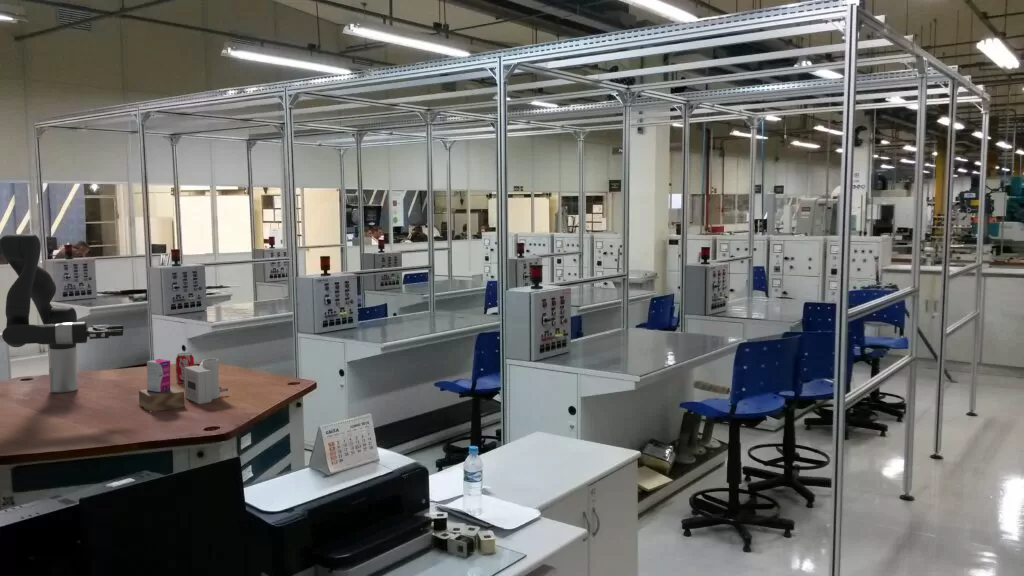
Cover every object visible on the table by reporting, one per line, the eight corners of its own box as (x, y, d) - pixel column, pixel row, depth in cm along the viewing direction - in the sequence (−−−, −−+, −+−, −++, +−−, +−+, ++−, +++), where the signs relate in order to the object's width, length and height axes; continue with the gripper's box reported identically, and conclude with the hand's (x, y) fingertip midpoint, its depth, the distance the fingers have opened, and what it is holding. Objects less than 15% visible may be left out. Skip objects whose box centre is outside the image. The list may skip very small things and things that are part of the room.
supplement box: (158, 393, 274) (158, 362, 273) (146, 391, 276) (145, 361, 275) (171, 390, 279) (170, 360, 278) (159, 388, 281) (158, 358, 280)
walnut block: (150, 412, 270) (149, 396, 269) (139, 405, 279) (138, 390, 278) (184, 407, 278) (184, 391, 278) (172, 400, 287) (172, 385, 286)
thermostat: (184, 398, 290) (184, 359, 288) (220, 392, 300) (219, 355, 299) (199, 404, 282) (198, 365, 280) (234, 397, 292) (234, 360, 291)
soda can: (197, 381, 317) (197, 353, 315) (182, 384, 311) (182, 356, 309) (187, 379, 320) (187, 351, 319) (172, 382, 314) (171, 354, 313)
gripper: (69, 326, 256) (122, 323, 264) (72, 319, 269) (123, 317, 276) (70, 347, 257) (123, 344, 265) (73, 339, 270) (123, 336, 277)
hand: (123, 330), depth 271 cm, fingers open, 8 cm apart
